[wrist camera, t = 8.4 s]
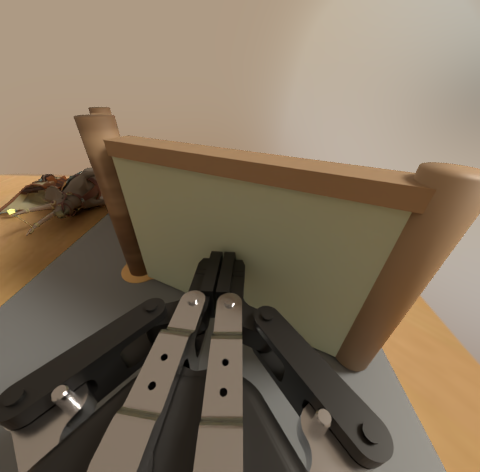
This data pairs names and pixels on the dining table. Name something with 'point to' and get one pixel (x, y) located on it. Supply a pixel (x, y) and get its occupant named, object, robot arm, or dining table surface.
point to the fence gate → (299, 232)
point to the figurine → (56, 196)
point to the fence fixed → (110, 181)
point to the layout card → (143, 288)
